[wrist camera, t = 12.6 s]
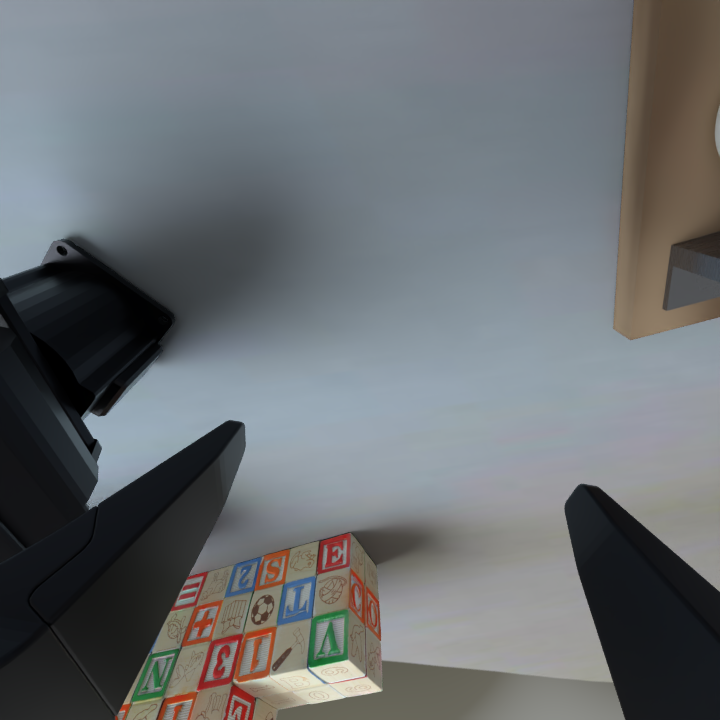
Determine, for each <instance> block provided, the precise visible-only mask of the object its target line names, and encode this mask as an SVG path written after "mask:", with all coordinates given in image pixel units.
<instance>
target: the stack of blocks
mask: <svg viewBox="0 0 720 720" xmlns="http://www.w3.org/2000/svg"><path fill="white" fill-rule="evenodd" d="M378 599H379V596H378V582H377V568H376V566H375V564H374V563H373V561H372V560H371V559H370V558H369V556H368V555H367V554H366V552H365V551H364V549H363V548H362V546H361V545H360V544H359V542H358V541H357V540H356V538H355V537H354V536H353V535H352V534H351V533H347V534H344V535H340V536H337V537H334V538H330V539H327V540H323V541H321V542H320V541H317V542H312V543H309V544H305V545H301V546H298V547H295V548H292V549H287V550H283V551H280V552H276V553H272V554H269V555H265V556H263V557H259V558H256V559H252V560H249V561H245V562H241V563H238V564H235V565H231V566H228V567H224V568H220V569H217V570H213V571H210V572H204V573H201V574H197V575H194V576H190V577H188V578H187V580H186V582H185V584H184V586H183V587H182V589H181V591H180V593H179V595H178V597H177V599H176V601H175V603H174V605H173V607H172V609H171V611H170V613H169V615H168V617H167V619H166V621H165V623H164V625H163V627H162V629H161V631H160V633H159V635H158V637H157V638H156V640H155V642H154V644H153V646H152V648H151V650H150V652H149V654H148V656H147V658H146V660H145V662H144V664H143V666H142V668H141V670H140V672H139V674H138V676H137V678H136V680H135V682H134V684H133V686H132V687H131V689H130V691H129V693H128V695H127V697H126V699H125V701H124V703H123V705H122V707H121V709H120V711H119V713H118V715H117V716H115V718H116V719H115V720H276V718H277V712H278V710H279V709H284V708H289V707H295V706H300V705H305V704H309V703H310V704H314V703H320V702H325V701H331V700H336V699H342V698H345V697H352V696H358V695H364V694H370V693H375V692H380V691H382V690H383V683H382V663H381V662H382V661H381V643H380V641H381V627H380V610H379V601H378Z"/></svg>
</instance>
